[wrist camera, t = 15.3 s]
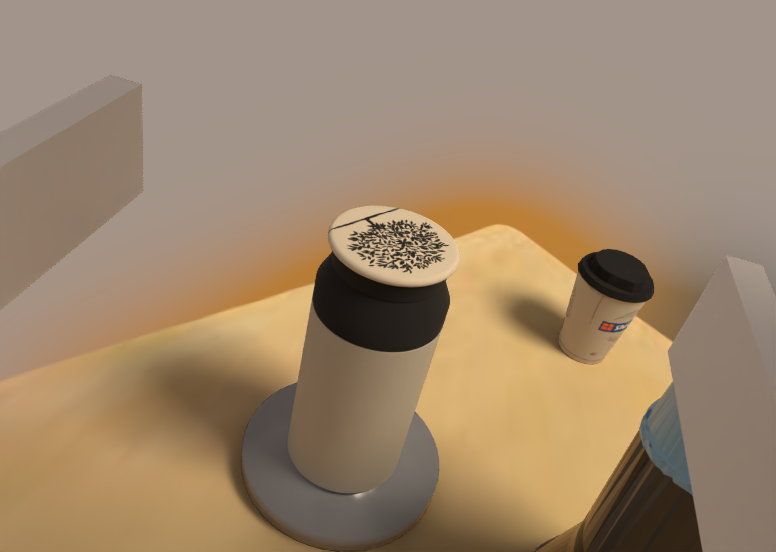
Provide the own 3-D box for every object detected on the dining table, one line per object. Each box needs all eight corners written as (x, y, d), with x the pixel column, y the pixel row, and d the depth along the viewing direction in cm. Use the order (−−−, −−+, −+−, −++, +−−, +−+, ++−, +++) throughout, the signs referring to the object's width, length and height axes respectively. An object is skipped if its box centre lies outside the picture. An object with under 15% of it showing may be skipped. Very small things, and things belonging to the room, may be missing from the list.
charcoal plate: (448, 422, 54) (452, 410, 53) (413, 580, 43) (418, 568, 42) (283, 370, 55) (285, 356, 54) (206, 510, 44) (207, 496, 43)
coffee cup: (531, 332, 66) (567, 248, 60) (581, 317, 70) (619, 237, 64) (581, 381, 62) (625, 295, 56) (631, 363, 65) (677, 281, 59)
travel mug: (419, 469, 48) (493, 266, 38) (323, 515, 43) (376, 298, 33) (359, 393, 53) (410, 194, 42) (267, 427, 48) (298, 213, 38)
